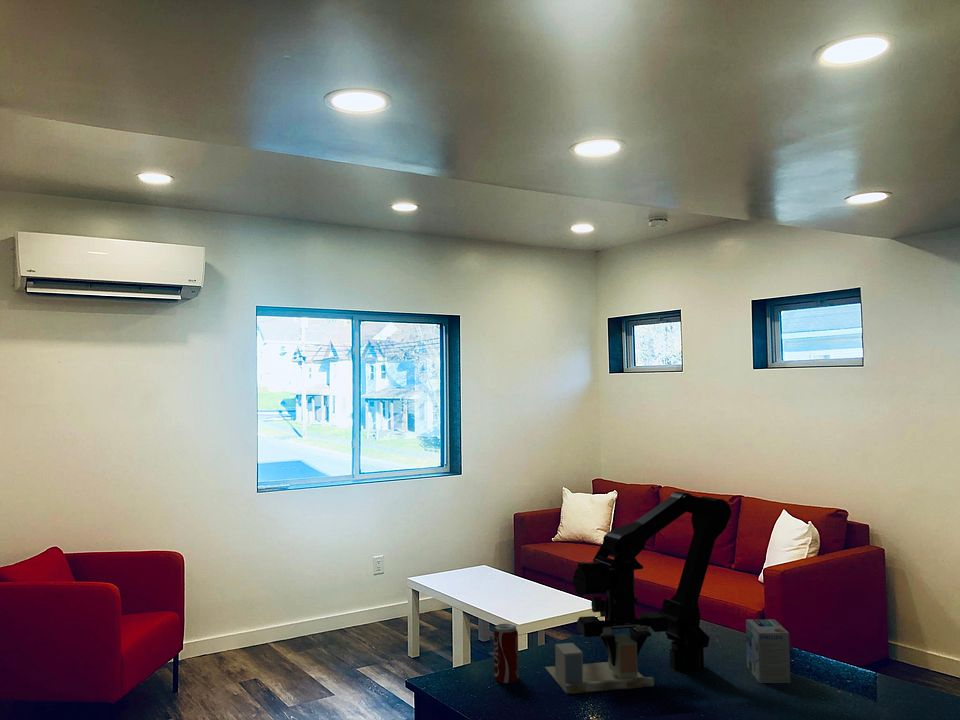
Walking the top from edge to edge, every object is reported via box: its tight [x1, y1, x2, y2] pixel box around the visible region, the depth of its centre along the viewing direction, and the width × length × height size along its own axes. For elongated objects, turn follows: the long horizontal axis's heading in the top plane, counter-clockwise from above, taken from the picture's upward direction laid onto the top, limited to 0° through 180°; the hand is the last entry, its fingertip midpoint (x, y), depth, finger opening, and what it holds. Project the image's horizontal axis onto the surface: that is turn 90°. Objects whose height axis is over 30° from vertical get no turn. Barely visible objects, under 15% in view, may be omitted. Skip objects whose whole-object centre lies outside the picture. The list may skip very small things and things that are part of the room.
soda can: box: [493, 623, 519, 684], centre depth 164 cm, size 5×5×12 cm
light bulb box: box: [745, 618, 791, 684], centre depth 167 cm, size 11×7×11 cm, turn 175°
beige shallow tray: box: [544, 661, 655, 694], centre depth 165 cm, size 19×16×2 cm
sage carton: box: [607, 633, 639, 678], centre depth 164 cm, size 4×7×7 cm, turn 11°
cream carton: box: [554, 642, 584, 688], centre depth 161 cm, size 4×7×7 cm, turn 11°
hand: (622, 664), depth 164 cm, fingers closed on sage carton, 4 cm apart
